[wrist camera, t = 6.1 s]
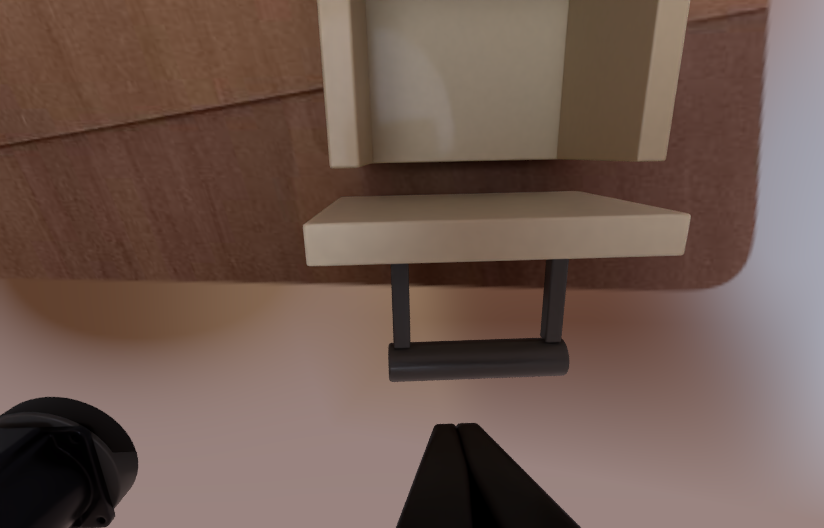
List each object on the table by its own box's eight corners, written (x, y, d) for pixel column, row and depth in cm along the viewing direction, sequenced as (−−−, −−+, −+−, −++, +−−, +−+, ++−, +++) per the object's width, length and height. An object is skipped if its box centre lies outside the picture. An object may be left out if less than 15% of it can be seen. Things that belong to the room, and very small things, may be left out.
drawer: (566, 322, 19) (657, 414, 12) (349, 330, 19) (322, 427, 12) (609, -128, 14) (800, -382, 7) (316, -127, 14) (239, -390, 7)
